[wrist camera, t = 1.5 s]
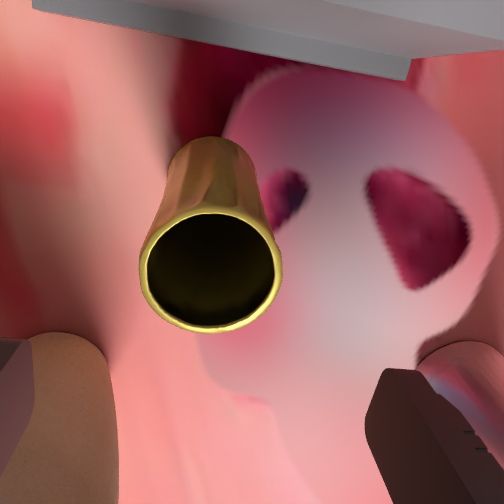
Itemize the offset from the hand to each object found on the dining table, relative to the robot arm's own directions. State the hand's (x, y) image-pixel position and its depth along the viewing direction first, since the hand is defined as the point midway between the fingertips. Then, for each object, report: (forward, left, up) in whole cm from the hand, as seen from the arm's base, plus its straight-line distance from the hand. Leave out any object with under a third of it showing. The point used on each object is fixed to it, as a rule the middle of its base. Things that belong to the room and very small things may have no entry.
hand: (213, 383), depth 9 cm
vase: (0, 0, -20) cm, 20 cm away
